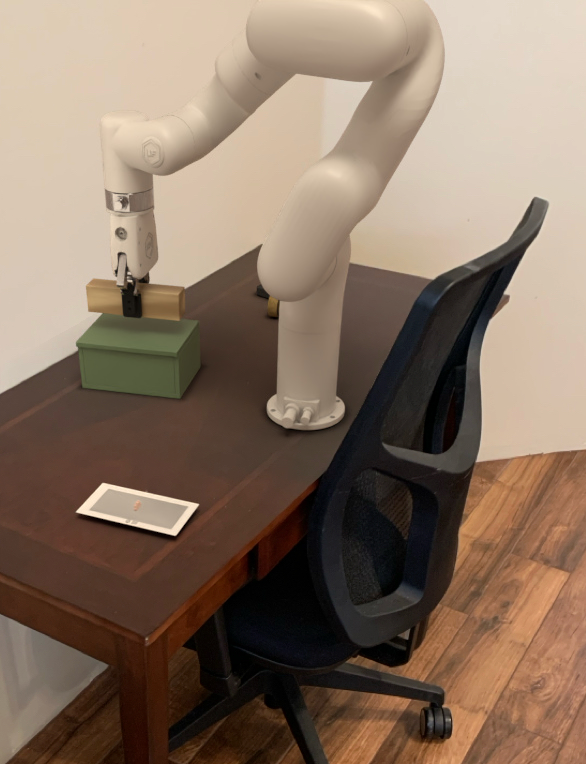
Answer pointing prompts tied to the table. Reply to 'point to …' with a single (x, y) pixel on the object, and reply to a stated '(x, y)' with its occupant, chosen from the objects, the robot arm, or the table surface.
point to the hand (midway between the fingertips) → (136, 310)
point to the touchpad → (138, 509)
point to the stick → (153, 297)
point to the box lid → (138, 334)
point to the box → (141, 370)
